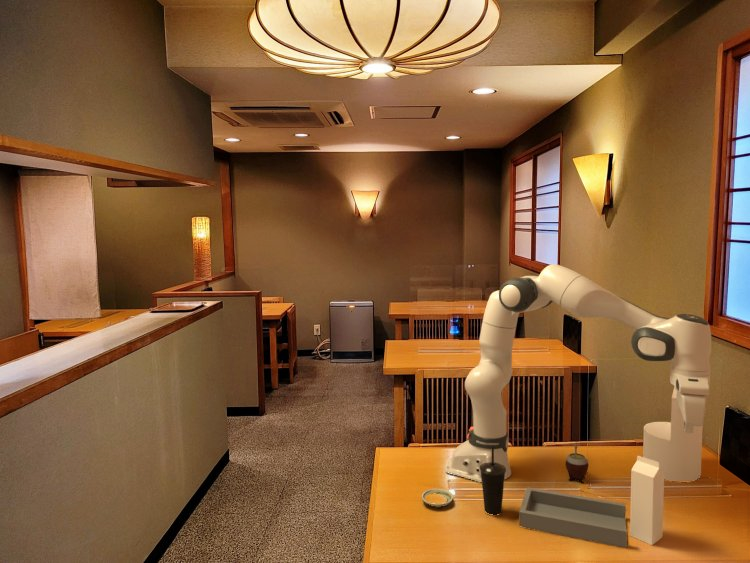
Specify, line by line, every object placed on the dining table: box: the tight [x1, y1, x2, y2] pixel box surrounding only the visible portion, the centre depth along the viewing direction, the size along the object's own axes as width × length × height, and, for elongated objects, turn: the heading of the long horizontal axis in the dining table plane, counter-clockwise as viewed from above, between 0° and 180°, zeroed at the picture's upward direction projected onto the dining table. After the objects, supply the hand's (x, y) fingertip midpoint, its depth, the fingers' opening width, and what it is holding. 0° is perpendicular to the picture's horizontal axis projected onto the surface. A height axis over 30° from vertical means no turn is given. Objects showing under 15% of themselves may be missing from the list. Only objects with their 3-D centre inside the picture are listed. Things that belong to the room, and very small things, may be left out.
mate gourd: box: [565, 442, 589, 485], centre depth 176 cm, size 8×8×15 cm
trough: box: [518, 486, 628, 549], centre depth 152 cm, size 28×15×4 cm, turn 66°
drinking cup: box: [480, 447, 506, 516], centre depth 158 cm, size 8×8×20 cm
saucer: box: [421, 488, 454, 508], centre depth 165 cm, size 10×10×2 cm
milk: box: [629, 455, 665, 546], centre depth 143 cm, size 6×6×22 cm
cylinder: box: [642, 385, 704, 482], centre depth 180 cm, size 17×17×28 cm
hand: (687, 430), depth 138 cm, fingers closed
